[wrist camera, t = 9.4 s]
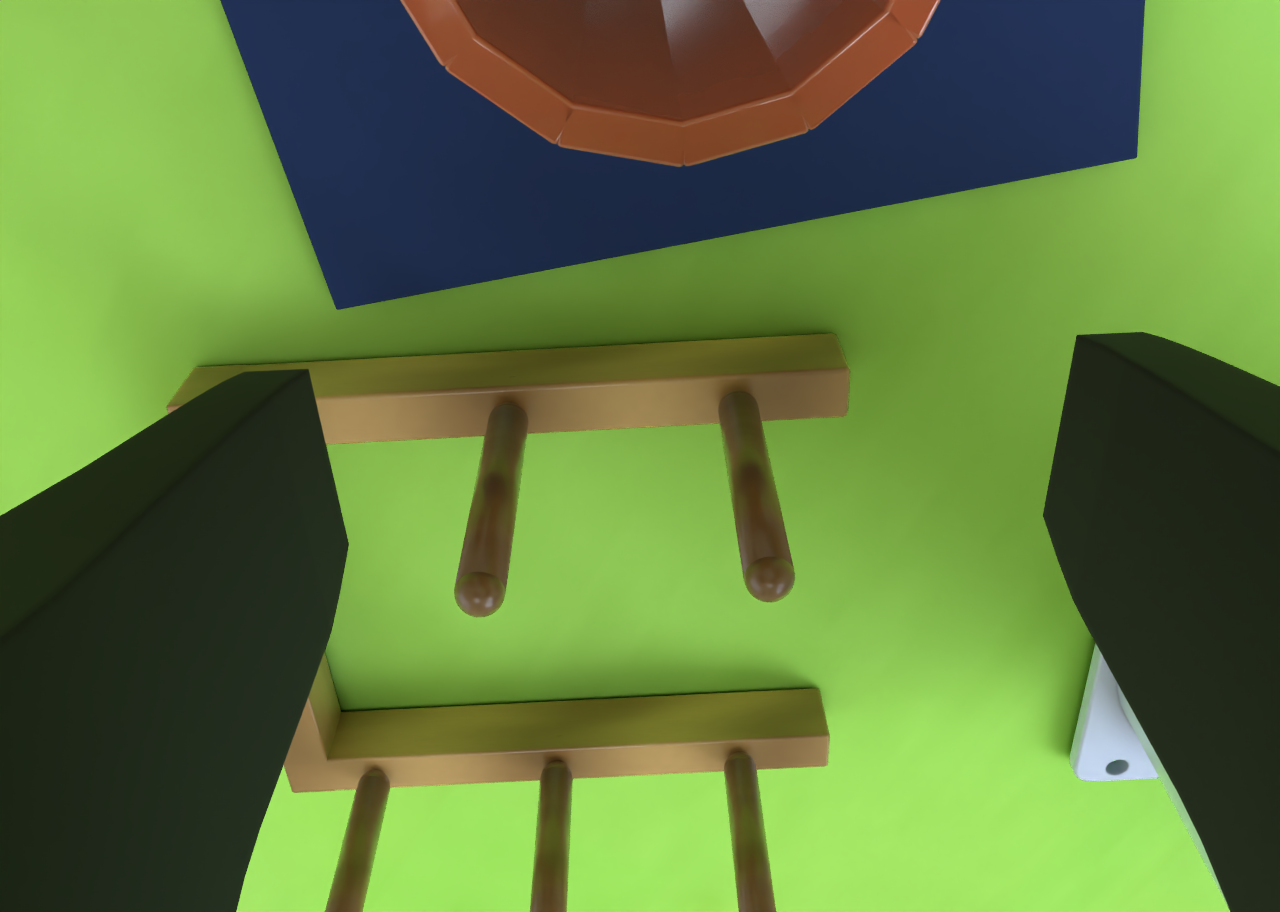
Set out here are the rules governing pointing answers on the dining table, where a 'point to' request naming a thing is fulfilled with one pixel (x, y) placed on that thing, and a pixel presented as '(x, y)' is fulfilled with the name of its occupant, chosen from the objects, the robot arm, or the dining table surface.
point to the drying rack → (518, 732)
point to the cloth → (643, 191)
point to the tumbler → (669, 66)
